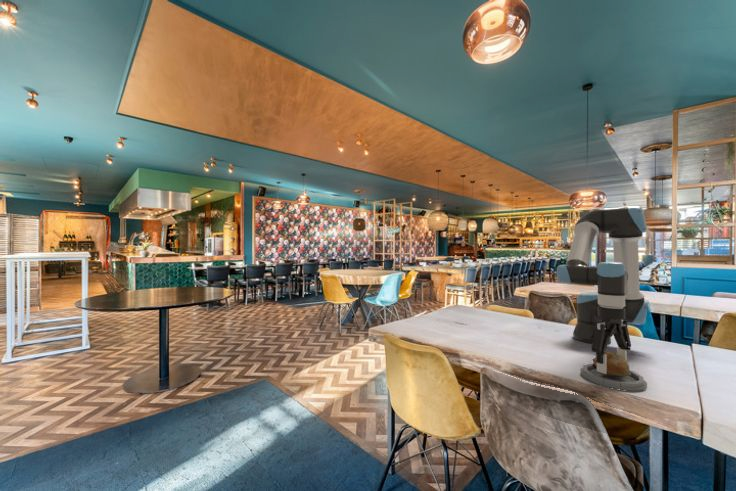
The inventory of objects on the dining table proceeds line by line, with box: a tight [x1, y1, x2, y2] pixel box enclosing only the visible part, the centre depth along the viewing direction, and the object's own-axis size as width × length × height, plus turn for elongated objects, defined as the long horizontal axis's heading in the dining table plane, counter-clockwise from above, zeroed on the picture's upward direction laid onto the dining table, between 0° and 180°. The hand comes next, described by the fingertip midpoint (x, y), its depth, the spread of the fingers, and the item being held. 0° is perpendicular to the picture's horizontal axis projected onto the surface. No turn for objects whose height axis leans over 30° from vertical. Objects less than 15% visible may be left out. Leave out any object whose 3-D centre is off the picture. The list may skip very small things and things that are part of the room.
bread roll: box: [592, 352, 631, 376], centre depth 105 cm, size 10×10×8 cm
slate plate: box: [580, 363, 648, 392], centre depth 105 cm, size 18×18×2 cm
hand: (611, 369), depth 105 cm, fingers closed on bread roll, 10 cm apart
